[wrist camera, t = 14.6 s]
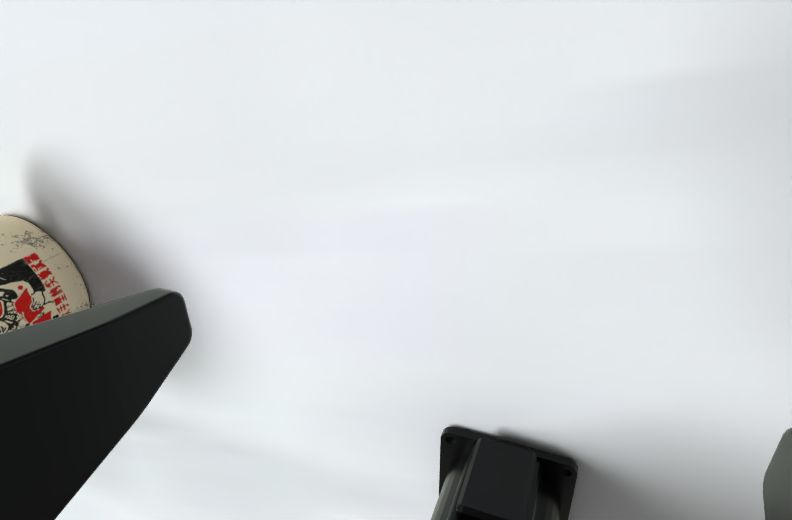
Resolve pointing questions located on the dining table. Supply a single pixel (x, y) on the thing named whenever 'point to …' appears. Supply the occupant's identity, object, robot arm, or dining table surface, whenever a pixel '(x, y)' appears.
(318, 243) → the dining table surface
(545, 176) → the dining table surface
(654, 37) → the dining table surface
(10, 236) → the teacup with lid
